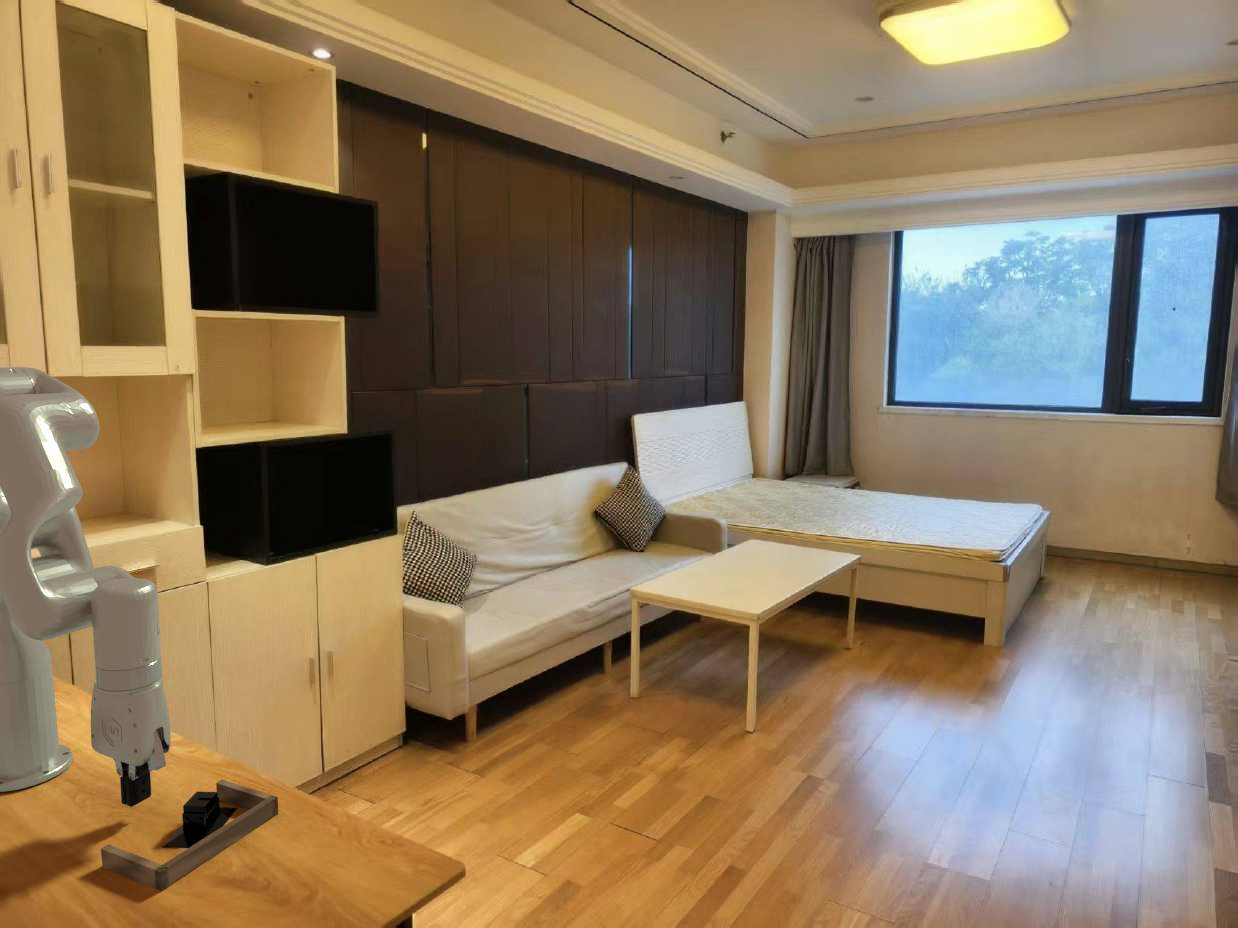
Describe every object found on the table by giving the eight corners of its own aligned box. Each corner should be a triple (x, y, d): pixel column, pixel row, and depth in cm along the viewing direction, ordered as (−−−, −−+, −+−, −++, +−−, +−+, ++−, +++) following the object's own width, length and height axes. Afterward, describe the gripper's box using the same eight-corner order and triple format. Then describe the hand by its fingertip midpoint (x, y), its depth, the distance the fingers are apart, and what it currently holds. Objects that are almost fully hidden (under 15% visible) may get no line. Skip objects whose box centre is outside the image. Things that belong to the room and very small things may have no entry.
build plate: (205, 860, 107) (203, 826, 106) (148, 858, 107) (145, 825, 106) (249, 805, 119) (247, 774, 119) (197, 803, 119) (195, 773, 119)
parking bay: (102, 867, 104) (100, 848, 104) (222, 795, 121) (222, 779, 120) (161, 891, 100) (160, 871, 100) (278, 813, 116) (277, 796, 116)
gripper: (63, 671, 111) (72, 799, 114) (142, 695, 105) (150, 830, 108) (117, 652, 117) (124, 773, 121) (194, 674, 112) (200, 801, 115)
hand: (136, 800), depth 114 cm, fingers closed
